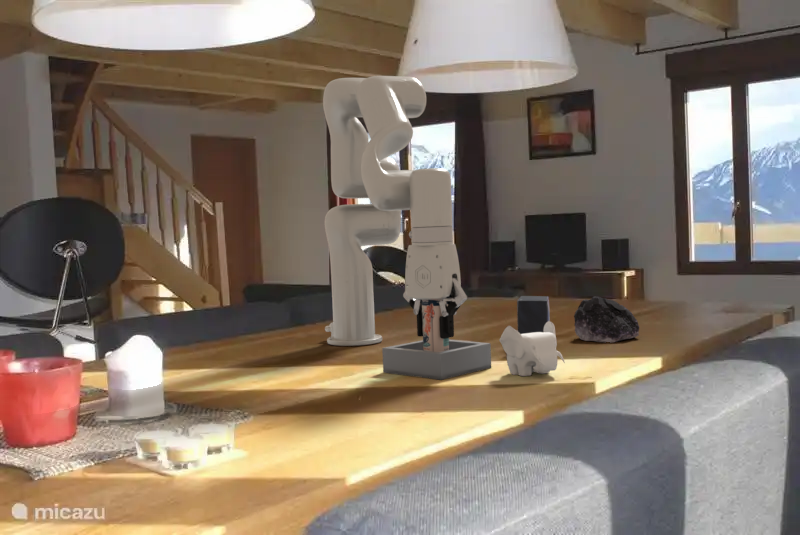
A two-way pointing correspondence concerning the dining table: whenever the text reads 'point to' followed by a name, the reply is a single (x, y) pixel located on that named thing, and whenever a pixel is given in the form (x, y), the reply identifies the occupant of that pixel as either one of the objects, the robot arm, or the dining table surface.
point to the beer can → (432, 327)
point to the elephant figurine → (531, 350)
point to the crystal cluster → (604, 321)
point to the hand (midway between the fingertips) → (435, 335)
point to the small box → (532, 313)
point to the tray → (437, 359)
